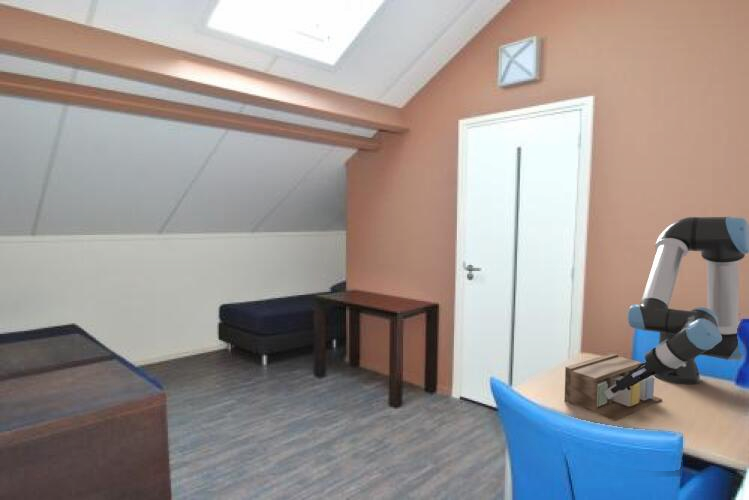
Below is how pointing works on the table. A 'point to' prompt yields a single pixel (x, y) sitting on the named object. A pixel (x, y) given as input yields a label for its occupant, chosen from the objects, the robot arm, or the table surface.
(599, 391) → the sage key
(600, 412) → the brown boxy piece
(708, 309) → the robot arm
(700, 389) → the table surface
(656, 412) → the table surface
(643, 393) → the white and blue block
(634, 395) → the mustard key
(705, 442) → the table surface
